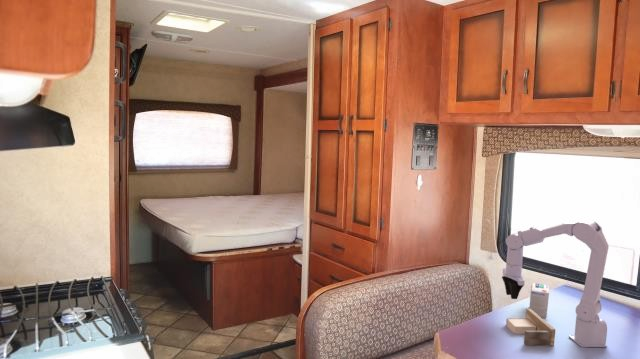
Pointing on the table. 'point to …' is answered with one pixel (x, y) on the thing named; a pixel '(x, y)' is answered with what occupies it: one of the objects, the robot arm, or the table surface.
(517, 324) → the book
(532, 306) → the light bulb box
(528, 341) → the shelf
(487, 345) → the table surface
